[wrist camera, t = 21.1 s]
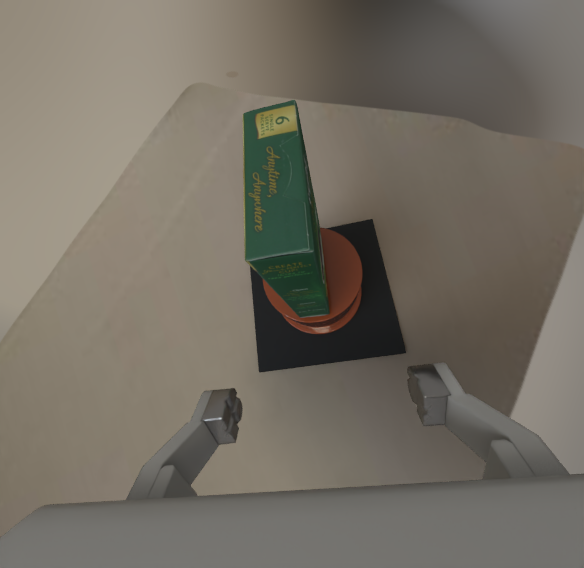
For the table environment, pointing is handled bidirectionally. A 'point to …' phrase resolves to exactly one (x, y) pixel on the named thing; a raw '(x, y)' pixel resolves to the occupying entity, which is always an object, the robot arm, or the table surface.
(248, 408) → the table surface
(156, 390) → the table surface
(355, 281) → the stand
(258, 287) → the mat
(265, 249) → the coffee box
